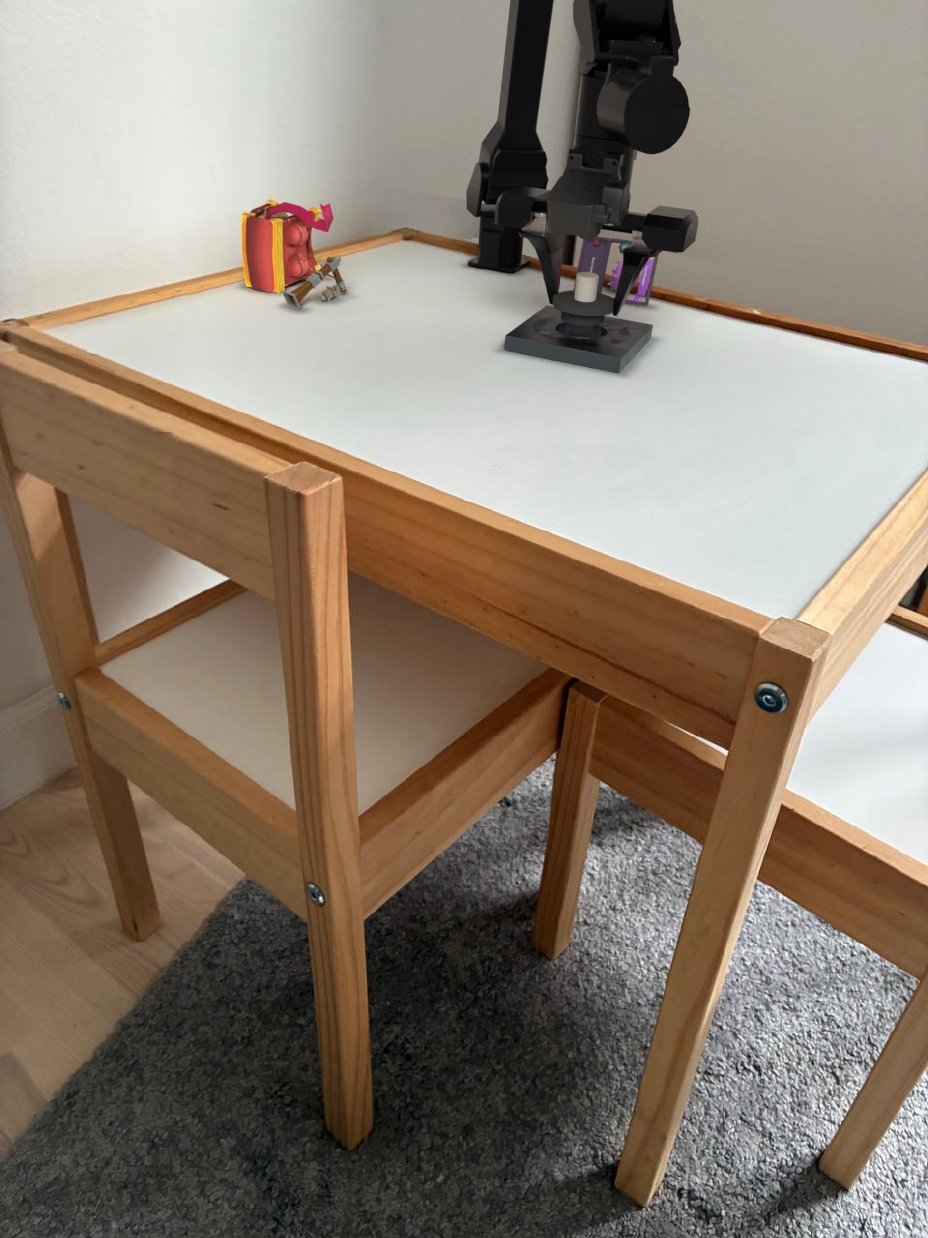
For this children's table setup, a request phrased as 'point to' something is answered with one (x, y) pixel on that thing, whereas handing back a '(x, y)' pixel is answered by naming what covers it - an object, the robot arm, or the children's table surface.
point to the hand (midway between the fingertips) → (583, 309)
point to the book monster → (280, 244)
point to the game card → (597, 259)
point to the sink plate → (579, 340)
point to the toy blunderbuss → (317, 283)
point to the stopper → (584, 302)
